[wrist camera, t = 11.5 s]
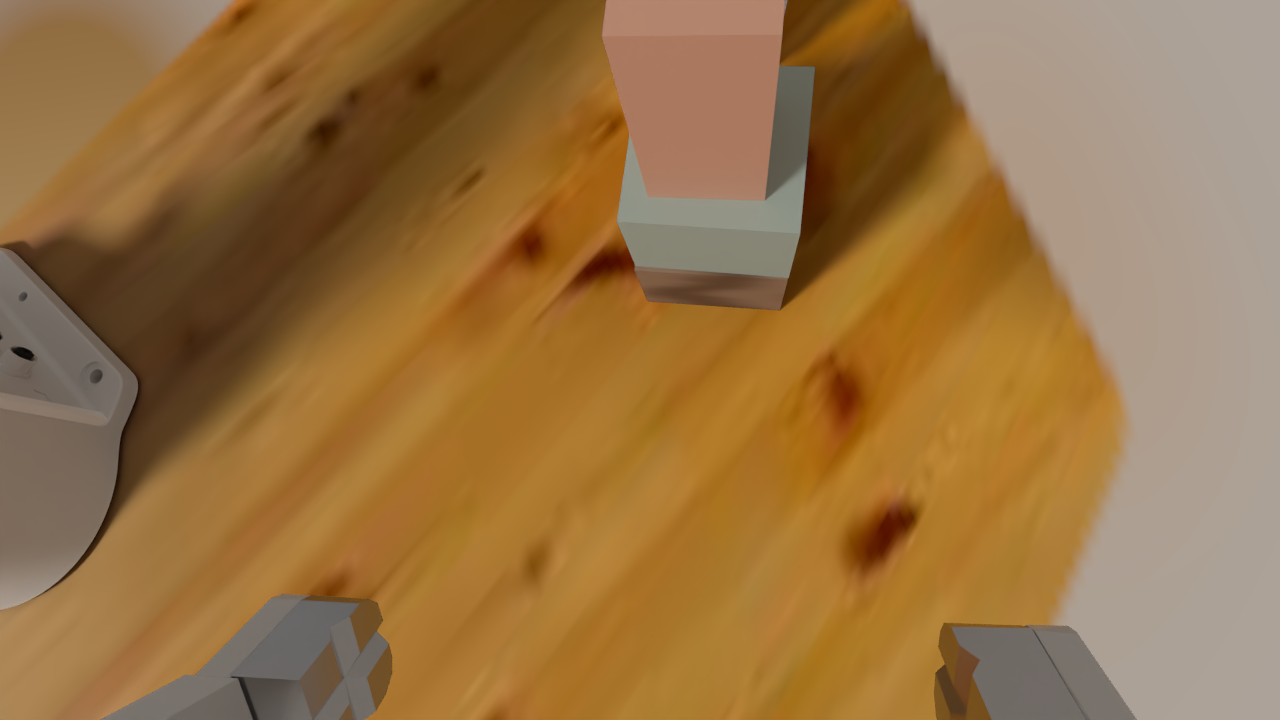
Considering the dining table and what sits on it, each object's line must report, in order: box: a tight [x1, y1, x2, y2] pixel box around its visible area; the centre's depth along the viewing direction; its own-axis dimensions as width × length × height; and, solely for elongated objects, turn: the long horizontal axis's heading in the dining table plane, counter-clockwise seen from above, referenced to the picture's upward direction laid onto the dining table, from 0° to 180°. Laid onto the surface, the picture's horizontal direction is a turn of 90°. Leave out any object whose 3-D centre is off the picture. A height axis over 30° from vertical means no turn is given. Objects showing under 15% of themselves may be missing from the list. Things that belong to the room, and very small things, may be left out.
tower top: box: [617, 66, 815, 278], centre depth 27 cm, size 7×7×5 cm
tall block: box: [602, 0, 785, 201], centre depth 21 cm, size 4×4×9 cm
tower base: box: [634, 266, 788, 310], centre depth 32 cm, size 7×7×5 cm
